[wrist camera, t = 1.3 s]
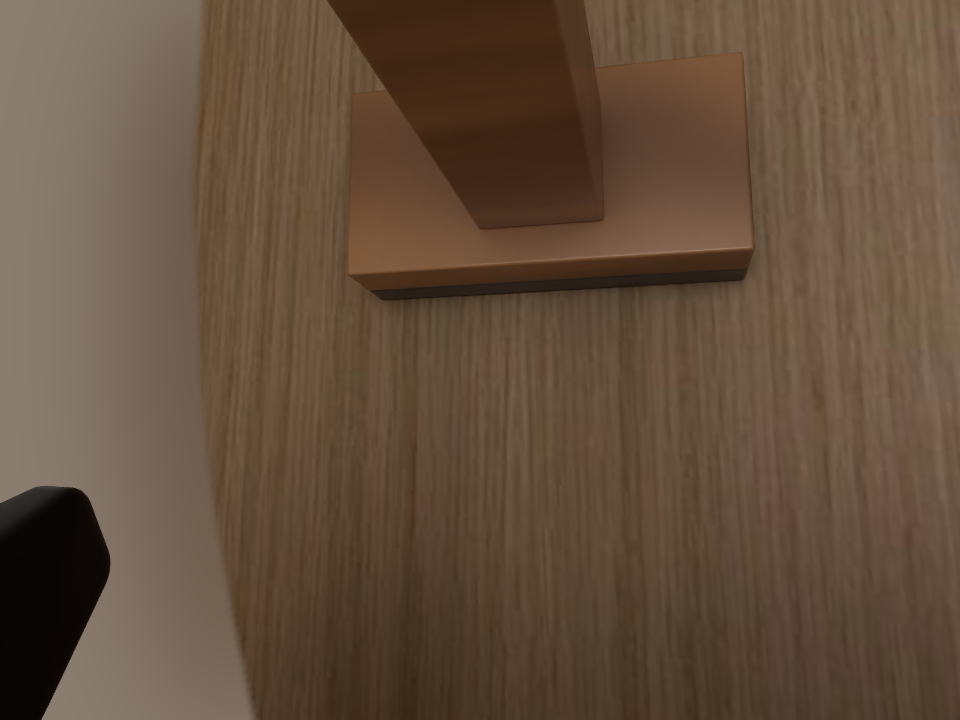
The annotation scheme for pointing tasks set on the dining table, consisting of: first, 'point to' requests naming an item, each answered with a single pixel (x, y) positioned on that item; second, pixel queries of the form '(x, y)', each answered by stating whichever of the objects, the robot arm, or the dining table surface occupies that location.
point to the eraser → (537, 156)
